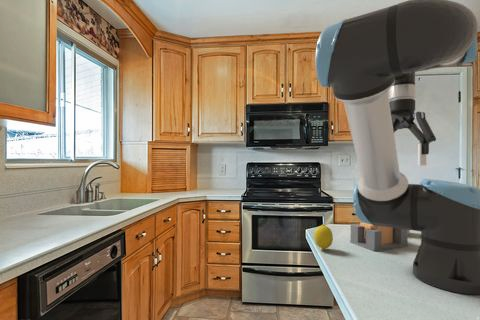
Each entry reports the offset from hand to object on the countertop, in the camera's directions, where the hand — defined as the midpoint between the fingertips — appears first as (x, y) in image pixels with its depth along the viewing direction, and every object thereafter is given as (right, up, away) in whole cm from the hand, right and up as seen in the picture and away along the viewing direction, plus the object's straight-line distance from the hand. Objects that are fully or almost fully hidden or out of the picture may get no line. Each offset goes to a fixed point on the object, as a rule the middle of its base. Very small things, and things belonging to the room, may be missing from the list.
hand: (401, 165), depth 90 cm
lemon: (-27, -27, -3) cm, 38 cm away
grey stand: (-6, -27, +3) cm, 28 cm away
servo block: (-6, -26, +3) cm, 27 cm away
